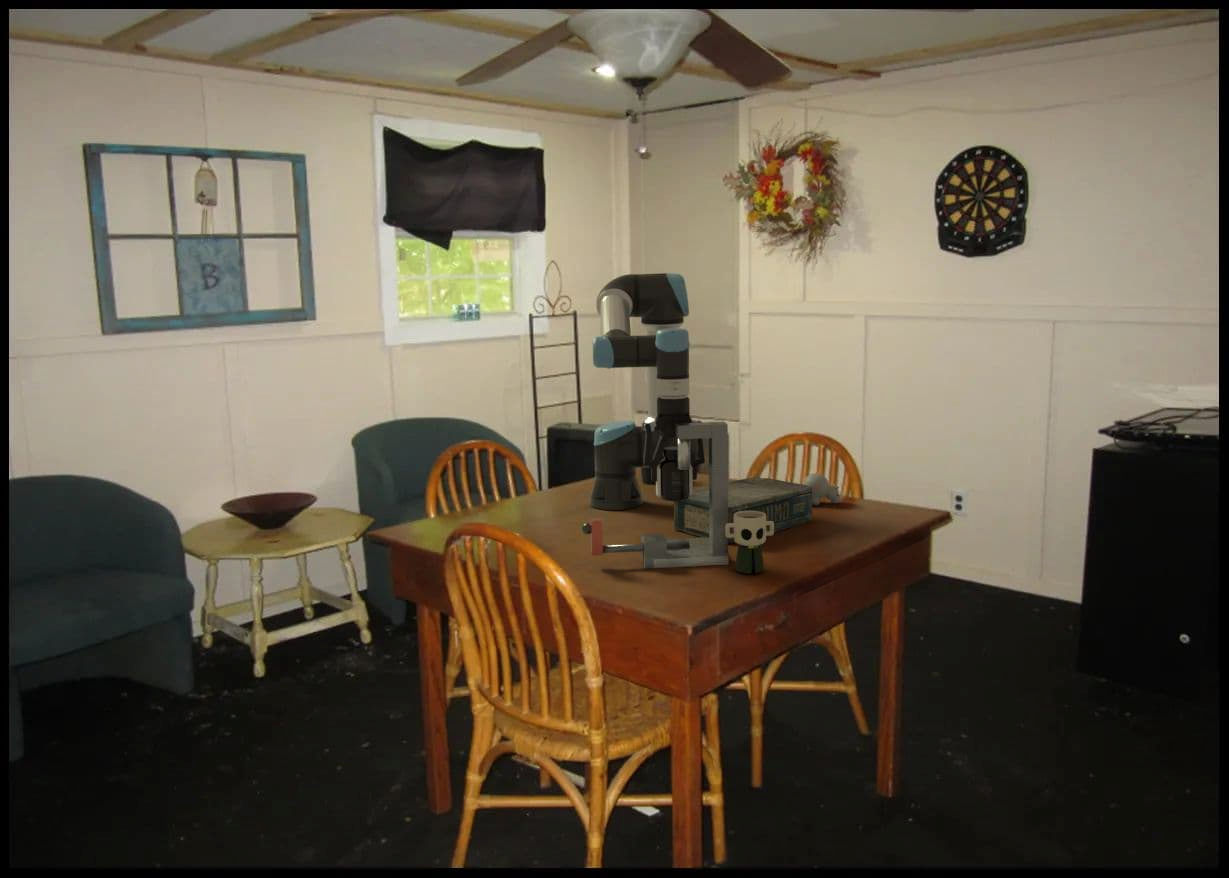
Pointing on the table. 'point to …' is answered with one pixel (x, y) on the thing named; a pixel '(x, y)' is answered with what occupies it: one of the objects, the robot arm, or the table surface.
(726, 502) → the press
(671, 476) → the supplement bottle
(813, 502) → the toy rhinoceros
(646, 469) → the pen holder
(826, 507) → the table surface
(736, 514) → the character mug
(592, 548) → the lever
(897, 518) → the table surface
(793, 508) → the metal box
